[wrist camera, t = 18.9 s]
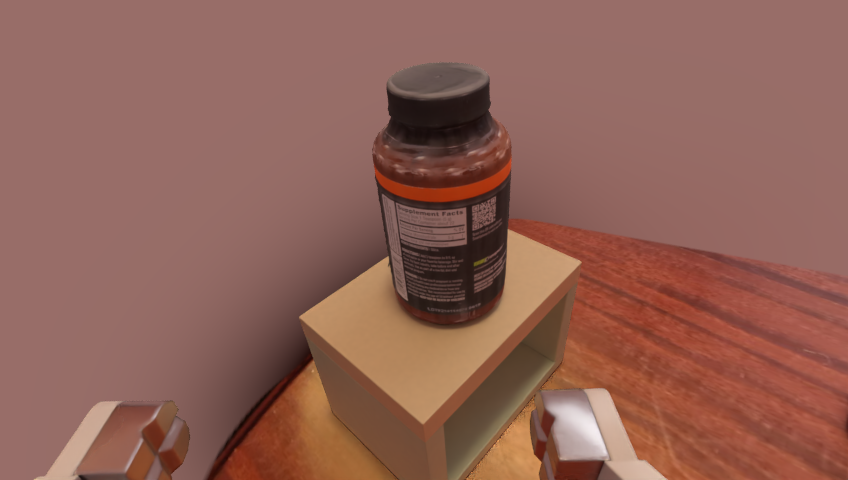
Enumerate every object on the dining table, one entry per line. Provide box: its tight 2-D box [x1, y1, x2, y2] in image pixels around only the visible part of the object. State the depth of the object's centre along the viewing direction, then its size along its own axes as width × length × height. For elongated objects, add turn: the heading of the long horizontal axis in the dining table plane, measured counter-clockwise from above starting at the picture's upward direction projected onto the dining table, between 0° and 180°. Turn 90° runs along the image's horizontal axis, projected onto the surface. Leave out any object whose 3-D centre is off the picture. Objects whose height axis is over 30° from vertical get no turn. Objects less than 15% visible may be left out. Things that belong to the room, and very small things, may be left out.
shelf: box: [299, 229, 582, 480], centre depth 27 cm, size 13×9×9 cm
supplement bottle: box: [372, 63, 511, 325], centre depth 20 cm, size 6×6×11 cm
